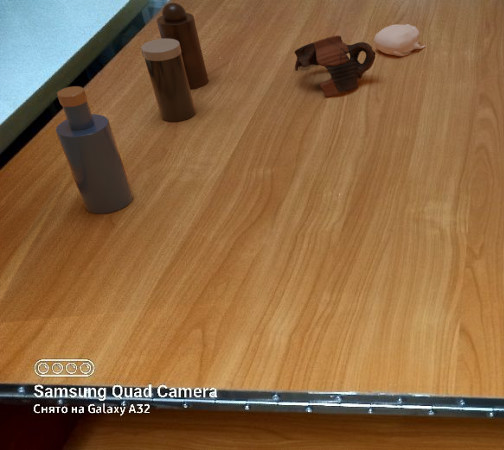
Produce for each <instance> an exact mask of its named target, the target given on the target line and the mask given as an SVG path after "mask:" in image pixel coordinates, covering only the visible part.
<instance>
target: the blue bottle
mask: <svg viewBox="0 0 504 450" xmlns="http://www.w3.org/2000/svg"><path fill="white" fill-rule="evenodd" d="M56 96H57V99H58V101H59V104H60V105H61V106H62V109H63V112H64V115H65V117H66V119H65V120H63V121H61V122H60V123H59V124H58V125H57V126H56V127H55V133H56V135H57V138H58V141H59V143H60V146H61V148H62V151H63V153H64V155H65V156H64V157H65V160H66V162H67V165H68V167H69V169H70V172H71V174H72V177H73V180H74V182H75V185H76V188H77V190H78V193H79V196H80V199H81V201H82V204H83V206H84V209H85V210H86V211H87V212H89V213H91V214H98V215H99V214H101V215H103V214H104V215H105V214H110V213H114V212H118V211H121V210H122V209H125V207H127V206H128V205H130V204H131V203H132V201H133V199H134V194H133V191H132V188H131V184H130V181H129V178H128V176H127V172H126V169H125V166H124V163H123V160H122V157H121V155H120V154H121V153H120V151H119V148H118V145H117V142H116V139H115V136H114V133H113V130H112V127H111V123H110V121H109V119H108V117H106V116H105V115H102V114H97V113H93V114H92V111H91V109H90V106H89V103H88V97H87V94H86V90H85V88H84V87H82V86H79V85H78V86H77V85H76V86H75V85H73V86H68V87H64V88H61V89H60V90H58V91H57V92H56Z"/></svg>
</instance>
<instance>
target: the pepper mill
mask: <svg viewBox="0 0 504 450" xmlns="http://www.w3.org/2000/svg"><path fill="white" fill-rule="evenodd" d="M156 24H157V27H158V30H159V31H158V32H159V35H160V39H175V40H177V41H179V43H180V47H181V54H182V58H183V62H184V66H185V70H186V74H187V78H188V82H189V86H190V90H196V89H198V88H202V87H203V86H205V85H207V84H208V83H209V77H208V73H207V68H206V63H205V60H204V55H203V51H202V46H201V43H200V38H199V34H198V30H197V25H196V20H195V16H194V15H193V14H192V13H189V12H186V9H185V8H184V7H183V6H182V5H181V4H179V3H177V2H169V3H167V4H165V5H164V6H163V8H162V10H161V16H159V17H158V18H157V19H156Z"/></svg>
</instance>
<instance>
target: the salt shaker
mask: <svg viewBox="0 0 504 450" xmlns="http://www.w3.org/2000/svg"><path fill="white" fill-rule="evenodd" d="M140 50H141V54H142V56H143V59H144V61H145V65H146V69H147V72H148V76H149V79H150V82H151V86H152V90H153V93H154V94H153V95H154V96H155V100H156V104H157V107H158V111H159V114H160V118H161V119H162V121H166V122H170V123H171V122H172V123H177V122H184V121H186V120H189V119H191V118H192V117H194V116H195V114H196V113H197V112H196V107H195V102H194V98H193V95H192V89H190V86H189V82H188V78H187V74H186V70H185V66H184V62H183V58H182V54H181V47H180V43H179V41H177V40H175V39H161V38H157V39H152V40H149V41H147V42H144V43H143V44H141V46H140Z"/></svg>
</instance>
